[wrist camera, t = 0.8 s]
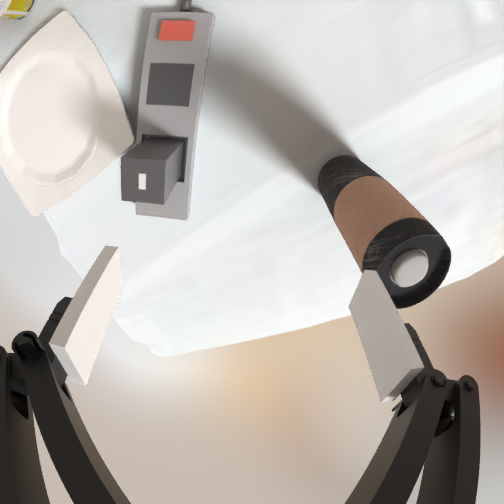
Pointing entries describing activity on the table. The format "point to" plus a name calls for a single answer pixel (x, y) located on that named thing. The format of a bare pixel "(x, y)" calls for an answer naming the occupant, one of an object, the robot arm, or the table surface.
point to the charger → (151, 170)
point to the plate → (59, 115)
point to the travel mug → (384, 231)
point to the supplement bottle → (16, 8)
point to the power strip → (174, 94)
